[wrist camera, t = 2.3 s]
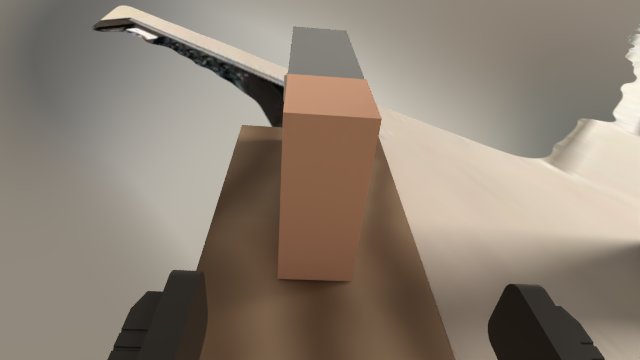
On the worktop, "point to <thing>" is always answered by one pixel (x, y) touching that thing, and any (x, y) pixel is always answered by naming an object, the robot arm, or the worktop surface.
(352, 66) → the charcoal ticket block
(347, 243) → the terracotta stub
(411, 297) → the walnut board
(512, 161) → the worktop surface
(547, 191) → the worktop surface
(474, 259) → the worktop surface
